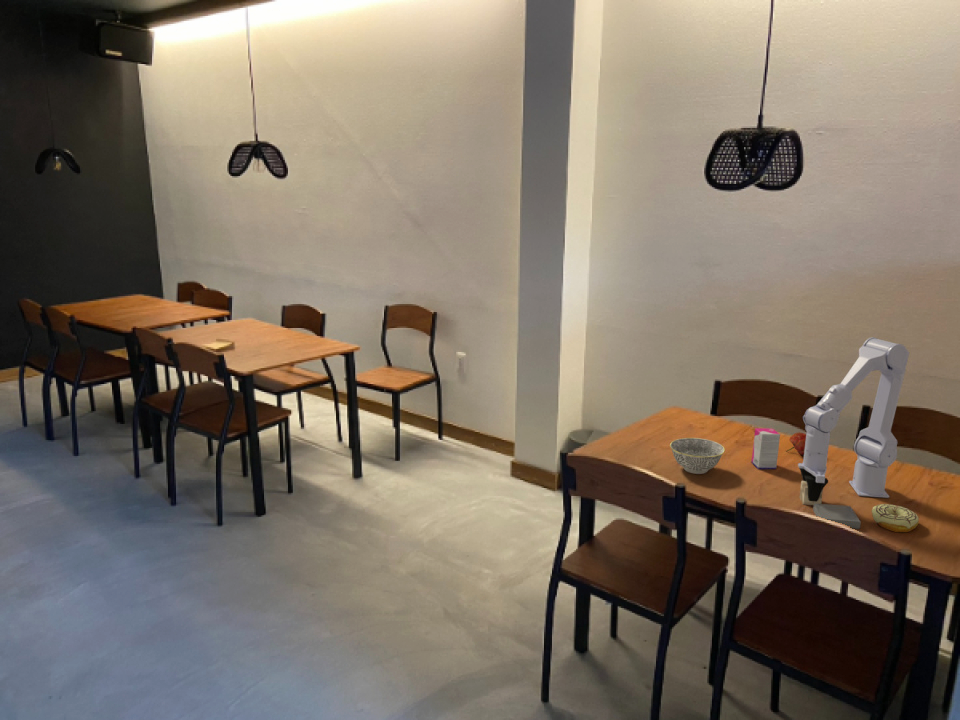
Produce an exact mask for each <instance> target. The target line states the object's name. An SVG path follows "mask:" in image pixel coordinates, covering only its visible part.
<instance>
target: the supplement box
mask: <svg viewBox="0 0 960 720" xmlns="http://www.w3.org/2000/svg"><path fill="white" fill-rule="evenodd" d="M780 438H781V433H779V432H778V431H776V429H774V428H767V427H766V428H765V427H764V428H762V427H761V428H760V427H759V428H758V427H757V428H756V427H755V428H754V437H753V445H752V447H753V448H752V452H751V453H752V455H751V461H750V462H751V464H752V465H753V466H754V467H755V468H756V469H757V470H777V466H778V465H777V464H778V456H779V449H780V448H779V447H780V441H781V440H780Z"/></svg>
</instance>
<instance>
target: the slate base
mask: <svg viewBox="0 0 960 720" xmlns="http://www.w3.org/2000/svg"><path fill="white" fill-rule="evenodd" d="M812 511H813V513H814V514H815V516H816V517H817V516H819V517H821V518H825V519H827V520H831V521H835V522H838V523H842V524H845V525H847V526H850V527H852V528H851V529H854V528H855V529H857V530H860V529H861V522H862V521H861V520H860V519H859V517H858V516H857V514H856V512H855V511H854V509H853V508H852V507H851V505H841V504H828V503H821V504H816V503H814V505H813V507H812Z"/></svg>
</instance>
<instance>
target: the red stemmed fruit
mask: <svg viewBox="0 0 960 720" xmlns="http://www.w3.org/2000/svg"><path fill="white" fill-rule="evenodd" d="M789 442H790V444H792V445H793V447H791V448H789V449H787V450H785V452H789V451H792V450H793V449H794V450H796V451H797V452H798V454H799V455H801V456H804V451H805V442H806V433H804V432H800V431H798V432H797V431H796V432H795V433H793V434H792V435H791V436H790V438H789Z"/></svg>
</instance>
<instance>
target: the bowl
mask: <svg viewBox="0 0 960 720" xmlns="http://www.w3.org/2000/svg"><path fill="white" fill-rule="evenodd" d="M669 447H670V449H671V451H672V455H673V457H674V459H675V461H676V462H677V464H679V466H680V467H682V468H683V469H684V471H685V472H687V473H690V474H695V475H700V474H706V473H707V472H709V470H711V469H713V468H715V467H716V466H717V465H718V463H719V462H720V460H721V458H722V456H723V455H724V453H725V450H726V449H725V447H724V445H722V444H720V443H719V442H716V441H714V440H710V439H706V438H699V437H684V438H682V437H681V438H677V439H675V440H672V441H671V442H670V444H669Z"/></svg>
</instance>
